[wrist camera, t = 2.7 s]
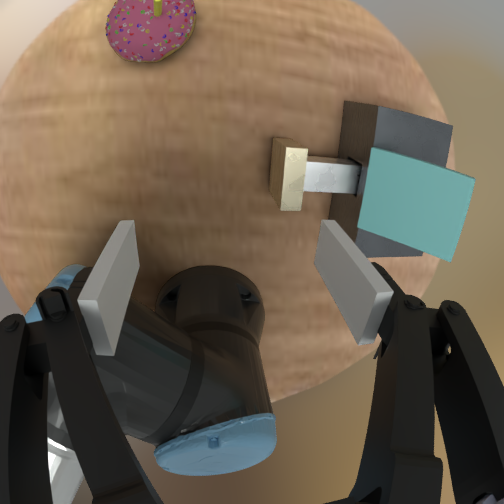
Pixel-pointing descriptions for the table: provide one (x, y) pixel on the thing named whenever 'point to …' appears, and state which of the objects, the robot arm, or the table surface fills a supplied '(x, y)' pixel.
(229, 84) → the table surface
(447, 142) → the grey block
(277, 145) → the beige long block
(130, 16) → the cupcake
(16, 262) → the table surface
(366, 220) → the teal rectangular plate
